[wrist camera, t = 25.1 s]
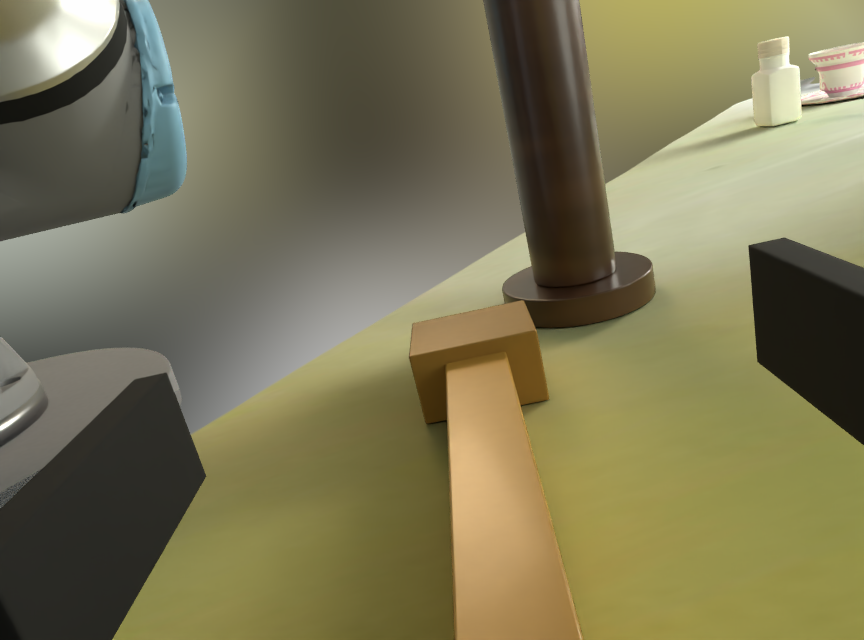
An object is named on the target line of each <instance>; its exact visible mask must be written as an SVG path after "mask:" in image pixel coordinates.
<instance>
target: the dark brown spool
mask: <svg viewBox="0 0 864 640" xmlns="http://www.w3.org/2000/svg"><path fill="white" fill-rule="evenodd" d="M483 1H484V6H485V12H486V18H487V23H488V29H489V34H490V40H491V45H492V51H493V56H494V62H495V67H496V73H497V78H498V84H499V89H500V95H501V100H502V106H503V111H504V116H505V122H506V127H507V133H508V138H509V144H510V149H511V155H512V160H513V166H514V171H515V176H516V182H517V188H518V193H519V199H520V204H521V210H522V215H523V221H524V226H525V232H526V237H527V243H528V248H529V254H530V259H531V265H532V266H531V267H528V268H526V269H524V270H522V271H520V272H518V273H516V274H514V275H513V276H511V277H510V278H508V279H507V280H506V281H505V283H504V284H503V287H502V291H503V296H504V301H505V304H507V303H512V302H516V301H521V300H523V301H524V302H525V305H526V307H527V309H528V312H529V314H530V316H531V319H532V321H533V323H534V326H535V327H547V328H556V327H572V326H580V325H587V324H592V323H597V322H602V321H606V320H609V319H613V318H616V317H619V316H622V315H625V314H627V313H630V312H632V311H634V310H636V309H638V308H640V307H642V306H643V305H645V304H646V303H647V302H649V301H650V300H651V299H652V298H653V296H654V294H655V290H656V288H655V280H654V272H653V265H652V262H651V261H650V260H649V259H648V258H647V257H645V256H642V255H639V254H634V253H628V252H615V251H614V244H613V237H612V230H611V223H610V216H609V209H608V202H607V195H606V188H605V181H604V173H603V166H602V160H601V152H600V146H599V138H598V131H597V124H596V117H595V110H594V103H593V95H592V88H591V81H590V74H589V67H588V60H587V53H586V46H585V39H584V32H583V25H582V17H581V11H580V3H579V0H483Z"/></svg>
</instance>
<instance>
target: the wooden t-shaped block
mask: <svg viewBox="0 0 864 640" xmlns="http://www.w3.org/2000/svg"><path fill="white" fill-rule="evenodd" d="M409 359H410V363H411V367H412V371H413V375H414V379H415V383H416V387H417V391H418V395H419V399H420V403H421V407H422V411H423V415H424V419H425V422H426V424H429V423H434V422H439V421H444V420H447V435H448V466H449V497H450V527H451V558H452V589H453V619H454V640H584V638H583V635H582V631H581V627H580V624H579V620H578V616H577V613H576V609H575V605H574V602H573V598H572V594H571V590H570V587H569V583H568V579H567V576H566V572H565V568H564V565H563V561H562V557H561V554H560V550H559V546H558V542H557V539H556V535H555V531H554V528H553V524H552V520H551V517H550V513H549V509H548V506H547V502H546V498H545V495H544V491H543V487H542V483H541V480H540V476H539V472H538V469H537V465H536V461H535V458H534V454H533V450H532V447H531V443H530V439H529V435H528V432H527V428H526V424H525V421H524V417H523V413H522V410H521V406H520V405H524V404H529V403H534V402H539V401H544V400H548V399H549V394H548V389H547V383H546V378H545V373H544V367H543V362H542V357H541V351H540V346H539V340H538V335H537V330H536V328H535V326H534V323H533V321H532V319H531V316H530V314H529V312H528V309H527V307H526V305H525V302H524V301H523V300H521V301H516V302H512V303H507V304H502V305H497V306H493V307H488V308H483V309H478V310H474V311H469V312H464V313H460V314H455V315H450V316H445V317H441V318H436V319H431V320H426V321H422V322H417V323H413V324H412V334H411V343H410V353H409Z"/></svg>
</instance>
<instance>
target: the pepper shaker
mask: <svg viewBox="0 0 864 640" xmlns="http://www.w3.org/2000/svg"><path fill="white" fill-rule="evenodd" d="M758 58H759V60H760V70H759V71H758V72H756V73H755V74H753V75H752V77H751V80H752V95H753V110H754V122H755V125H757V126H777V125H782V124H786V123H790V122H794V121H797V120H798V119H800V118H801V115H802V112H801V91H800V70H799V68H798V66H795V65H791V64H789V37H788V36H787V37H782V38H777V39H772V40H768V41H764V42H760V43H758Z"/></svg>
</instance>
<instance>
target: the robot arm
mask: <svg viewBox="0 0 864 640" xmlns="http://www.w3.org/2000/svg"><path fill="white" fill-rule="evenodd" d="M186 170H187V157H186V145H185V138H184V131H183V125H182V119H181V114H180V109H179V105H178V101H177V98H176V96H175V94H174V85H173V81H172V73H171V68H170V64H169V60H168V56H167V52H166V49H165V45H164V42H163V38H162V35H161V32H160V29H159V26H158V23H157V20H156V17H155V15H154V12H153V10H152V7H151V5H150V3H149V1H148V0H0V241H3V240H7V239H12V238H16V237H20V236H24V235H29V234H33V233H37V232H41V231H45V230H49V229H54V228H58V227H62V226H66V225H71V224H75V223H79V222H83V221H88V220H92V219H96V218H100V217H104V216H108V215H113V214H117V213H127V212H130V211H131V210H133V209H134V208H135V207H136V206H139V205H142V204H146V203H149V202H151V201H155V200H158V199H161V198H164V197H167V196H170V195H171V194H173V193H175V192H176V191H177V190H178V189H179V188H180V186H181V185H182V183H183V181H184V179H185V176H186ZM749 257H750V270H751V283H752V296H753V310H754V323H755V336H756V349H757V362H759V363H760V364H761V365H762V366H764V367H765V368H766V369H767V370H769V371H770V372H771V373H772V374H774V375H775V376H776V377H778V378H779V379H780V380H781V381H783V382H784V383H785V384H786V385H788V386H789V387H790V388H792V389H793V390H794V391H795V392H797V393H798V394H799V395H800V396H802V397H803V398H804V399H806V400H807V401H808V402H809V403H811V404H812V405H813V406H814V407H816V408H817V409H818V410H820V411H821V412H822V413H823V414H825V415H826V416H827V417H828V418H830V419H831V420H832V421H834V422H835V423H836V424H837V425H839V426H840V427H841V428H842V429H844V430H845V431H846V432H848V433H849V434H850V435H851V436H853V437H854V438H855V439H856V440H858V441H859V442H860V443H861V444H863V445H864V268H862V267H860V266H857V265H855V264H852V263H849V262H847V261H844V260H842V259H839V258H836V257H834V256H831V255H829V254H826V253H823V252H821V251H818V250H815V249H813V248H810V247H808V246H805V245H802V244H800V243H797V242H795V241H792V240H789V239H787V238H780V239H776V240H771V241H767V242H762V243H757V244H753V245H749ZM48 402H49V401H48V398H47V395H46V393H45V391H44V389H43V386H42V384H41V382H40V380H39V379H38V378H37V377H36V374H35V373H34V371H33V370H32V369H31V367H30V366H29V365H28V364H27V363H26V362H25V361H24V360H23V359H22V358H21V357H20V356H19V355H18V354H17V353H16V352H15V351H14V350H13V349H12V348H11V347H10V346H9V345H8V344H7V342H6V341H4V339H2V337H1V336H0V447H2V446H3V445H5V444H6V443H8V442H9V441H11V440H12V439H14V438H15V437H17V436H18V435H20V434H21V433H22V432H24V431H25V430H26V429H27V428H29V427H30V426H31V425H32V424H33V423H34V422H35V421H37V420H38V418H39V417H40V416H41V415H42V414H43V413H44V411H45V410H46V408H47V406H48ZM205 477H206V474H205V472H204V469H203V467H202V464H201V461H200V459H199V456H198V453H197V451H196V448H195V445H194V443H193V440H192V438H191V435H190V432H189V430H188V427H187V424H186V422H185V419H184V417H183V414H182V412H181V409H180V406H179V403H178V401H177V398H176V395H175V393H174V390H173V388H172V385H171V382H170V380H169V377H168V374H167V372H166V373H161V374H156V375H152V376H147V377H143V378H138V379H134V380H133V381H132V382H131V383H130V384H129V385H128V386H127V387H126V388H125V389H124V390H123V391H122V392H121V393H120V394H119V395H118V396H117V397H116V398H115V399H114V400H113V401H112V402H111V403H110V404H109V405H108V406H106V407H105V408H104V409H103V410H102V411H101V412H100V413H99V414H98V415H97V416H96V417H95V418H94V419H93V420H92V421H91V422H90V423H89V424H88V425H87V426H86V427H85V428H84V429H83V430H82V431H81V432H80V433H79V434H78V435H77V436H76V437H74V438H73V439H72V440H71V441H70V442H69V443H68V444H67V445H66V446H65V447H64V448H63V449H62V450H61V451H60V452H59V453H58V454H57V455H56V456H55V457H54V458H53V459H52V460H51V461H50V462H49V463H48V464H47V465H46V466H45V467H44V468H42V469H41V470H40V471H39V472H38V473H37V474H36V475H35V476H34V477H33V478H32V479H31V480H30V481H29V482H28V483H27V484H26V485H25V486H24V487H23V488H22V489H21V490H20V491H19V492H18V493H17V494H16V495H15V496H14V497H13V498H12V499H11V500H9V501H8V502H7V503H6V504H5V505H4V506H3V507H2V508H1V509H0V640H112V639H113V637H114V635H115V634H116V632H117V630H118V628H119V627H120V625H121V623H122V621H123V620H124V618H125V616H126V614H127V613H128V611H129V609H130V608H131V606H132V604H133V602H134V601H135V599H136V597H137V595H138V594H139V592H140V590H141V588H142V587H143V585H144V583H145V582H146V580H147V578H148V576H149V575H150V573H151V571H152V569H153V568H154V566H155V564H156V562H157V561H158V559H159V557H160V556H161V554H162V552H163V550H164V549H165V547H166V545H167V543H168V542H169V540H170V538H171V536H172V535H173V533H174V531H175V529H176V528H177V526H178V524H179V523H180V521H181V519H182V517H183V516H184V514H185V512H186V510H187V509H188V507H189V505H190V503H191V502H192V500H193V498H194V497H195V495H196V493H197V491H198V490H199V488H200V486H201V484H202V483H203V481H204V479H205Z"/></svg>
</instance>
